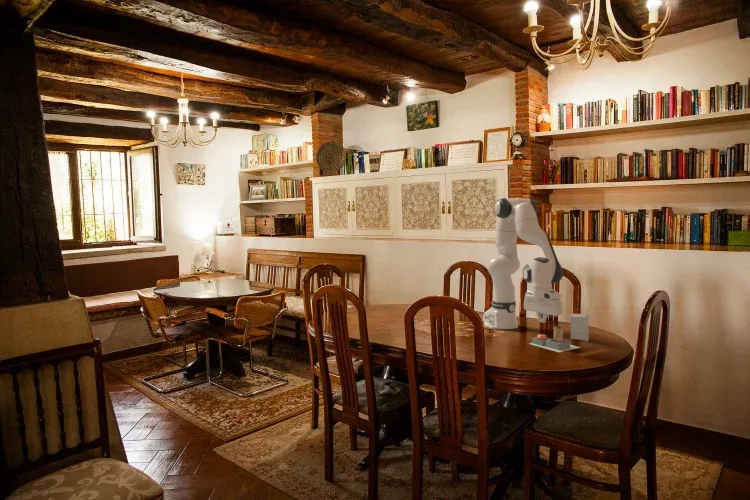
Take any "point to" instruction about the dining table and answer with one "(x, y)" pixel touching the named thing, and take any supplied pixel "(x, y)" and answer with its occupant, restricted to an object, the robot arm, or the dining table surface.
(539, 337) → the test button
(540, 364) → the dining table surface
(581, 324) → the supplement box
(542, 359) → the dining table surface
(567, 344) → the grey test fixture
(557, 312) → the robot arm
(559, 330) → the cell
